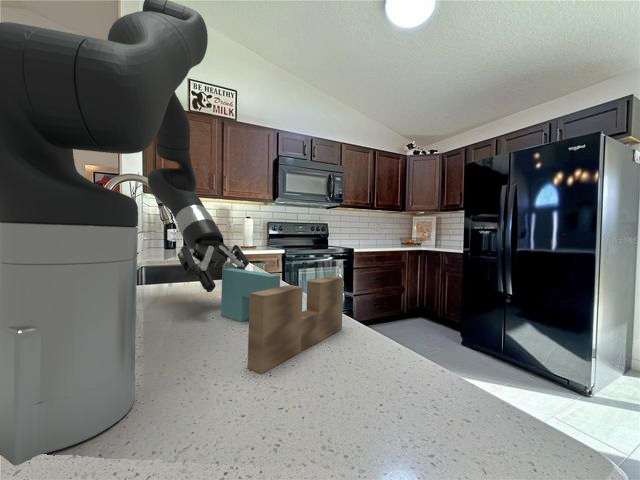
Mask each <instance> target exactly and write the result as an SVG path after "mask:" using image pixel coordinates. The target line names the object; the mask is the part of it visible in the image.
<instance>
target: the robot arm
mask: <svg viewBox="0 0 640 480" xmlns="http://www.w3.org/2000/svg"><path fill="white" fill-rule="evenodd" d="M141 10H142V11H141ZM141 10H140V11H134V12H132V13H129V14H125V15H123V16H120V17H119V18H118V19H116V20H115V21H114V22H113V24H112V25H111V27H110V29H109V31H108V35H107V39H102V38H96V37H93V36H92V37H91V36H87V35H83V34H76V33H71V32H68V31H67V32H66V31H60V30H55V29H50V28H45V27H40V26H35V25H34V26H33V25H28V24H23V23H17V22H9V21H7V22H6V21H5V22H4V21H2V22H0V456H1V457H2V458H4V459H5V460H6V461H7V462H8V463H10V464H11V465H13V466H15V467H16V466H20V465H22V464H24V463H26V462H27V461H29V460H31V459H33V458H36V457H38V456H40V455H43V454H47V453H51V452H55V451H59V450H62V449H65V448H68V447H70V446H74V445H76V444H79V443H81V442H83V441H86V440H88V439H91V438H92V437H95V436H97V435H98V434H100V433H102V432H104V431H105V430H106V429H108V428H111V426H113V425H114V424H115V423H116V424H117V422H119V421H121V419H123V418H124V416H125V415H127V414H128V413H129V412H130V410H131V408H132V407H133V405H134V402H135V382H136V373H135V372H136V333H137V331H136V329H137V290H138V289H137V288H138V287H137V285H138V282H137V281H138V280H137V279H138V249H139V248H138V242H139V228H138V226H139V207H138V204H137V202H136V200H135V199H134V198H132V197H130V195H127V194H124V193H121V192H119V191H116V190H113V189H111V188H107V187H104V186H102V185H100V184H97V183H95V182H93V181H92V180H89V179H88V178H86V177H85V176H84V175H82V174H81V173H79V171H78V170H77V167H76V163H75V158H74V151H75V150H78V151H84V152H85V151H86V152H96V153H97V152H98V153H108V154H121V155H122V154H123V155H129V154H137V153H142V152H144V151H145V150H147V149H148V148H149V147H150V146H151V145H152V144H153V142H154V141H155V151H156V154H157V155H158V157H160V158H161V159H163V160H167V161H169V162H174V163H177V165H178V167H172V168H171V167H157V168H156V167H155V168H153V169H152V170H151V171H149V173H148V176H147V185H148V188H149V189H150V191H151V192H152V194H153V195H154V196H155V198H156V199H158V201H160V202H161V204H163V205H164V206H165V208H167V209H169V211H170V213H171V214H172V216H173V219H174V221H175V222H176V225H177V228H178V231H179V232H180V235H181V236H182V239H183V240H184V242H185V244H186V245H183V246H182V247H181V249H179V251H178V254H177V257H178V260H179V262H180V265H181V267H182V269H183V272H184V274H185V277H189V278H190V277H193V276H194V277H196V278H197V279H198V280H199V282H200V285H201V287H202V288H203V289H204V290H205V291H206V292H207V293H212V292H213V291H214V289H215V288H216V282H215V281H214V279H213V277H212V274H211V273H210V271H209V270H207V269H208V267H209V268H215V267H223V269H229V268H235V269H241V270H246V268H247V266H249V264H250V261H249V260H248V258H247V257H246V256H245V254H244V252H243V251H242V250H241V248H240V246H239V245H237V244H234V245H233V247H228V246H227V245H226V244H225V242H224V236H223V234H222V232H221V230H220V229H219V227H218V226H217V223H216V222H215V220H214V219H213V217H212V215H211V214H210V212H209V211H208V210H207V209H206V207H205V205H204V204H203V202H202V201H201V199H200V197H199V196H198V195H197V194H196V193H195V192H196V190H197V186H198V185H197V178H196V175H195V172H194V169H193V168H194V167H193V164H192V158H191V124H190V120H189V117H188V115H187V112H186V110H185V108H184V106H183V104H182V103H181V101H180V99H179V97H178V95H177V93H176V91H177V89H178V88H179V87H180V86H181V85H182V83H183V81H184V80H185V79H186V77H188V74H189V72H190V70H191V69H192V68H194V67H196V66H198V65H200V64H201V63H202V61H203V60H204V58H205V56H206V53H207V49H208V42H209V40H208V39H209V38H208V29H207V25H206V22H205V20H204V18H203V16H202V15H201V13H199V12H198V11H197V10H195V9H194V8H191V7H189V6H188V7H187V6H186V5H183V4H181V3H180V4H179V3H177V2H174V1H172V0H144V1H143V4H142V9H141ZM194 258H195V259H194ZM228 259H230V260H229V262H227V261H228ZM195 260H198V261H199V262H198V264H197V263H196V261H195ZM235 265H236V266H235Z"/></svg>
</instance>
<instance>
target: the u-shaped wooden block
mask: <svg viewBox="0 0 640 480" xmlns="http://www.w3.org/2000/svg"><path fill="white" fill-rule="evenodd" d="M306 283H307V285H306V288H307V289H306V310H303V295H304V294H303V290H304V288H303V286H299V285H291V284H288V285H283V286H280V287H277V288H273V289H268V290H263V291H258V292H253V293H250V299H249V320H248V335H247V337H248V340H247V341H248V342H247V369H248V370H251V371H254V372H256V373H258V374H260V375H262V374H264V373H266V372H269V371H270V370H272V369H273V368H275V367H278V365H280V364H282V363H284V362H286V361H288V360H290V359H291V358H293V357H295V356H297V355H299V354H300V353H302V352H304V351H306V350H308V349H309V348H311V347H313V346H315V345H316V344H318V343H320V342H322V341H323V340H325V339H327V338H329V337H330V336H333V335H334V334H336V333H339V332H340V331H342V330H343V329H342V328H343V310H344V309H343V306H344V305H343V304H344V277H340V276H333V275H331V276H325V277H321V278H317V279H313V280H307V282H306Z"/></svg>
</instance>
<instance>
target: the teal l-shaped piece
mask: <svg viewBox="0 0 640 480" xmlns="http://www.w3.org/2000/svg"><path fill="white" fill-rule="evenodd" d="M277 287H281V275H280V274H274V273H269V272H268V273H266V272H261V271H254V270H247V269H245V270H241V269H235V268H229V269H226V268H222V269H221V303H220V306H221V309H220V316H221V317H223V318H228V319H231V320H234V321H238V322H246V321H249V299H250V293H253V292H258V291H263V290H268V289H273V288H277Z"/></svg>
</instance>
